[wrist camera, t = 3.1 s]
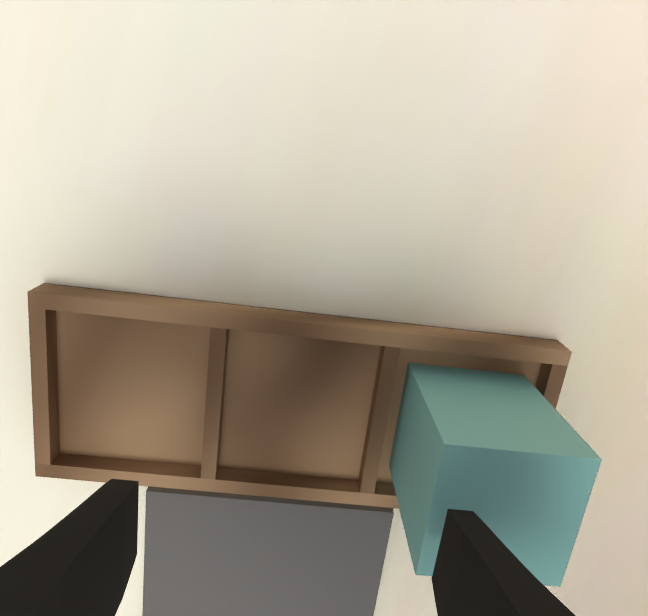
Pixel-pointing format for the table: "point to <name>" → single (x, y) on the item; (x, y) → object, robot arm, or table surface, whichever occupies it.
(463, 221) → the table surface
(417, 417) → the teal block
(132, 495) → the robot arm
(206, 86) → the table surface
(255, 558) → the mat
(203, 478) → the organizer
